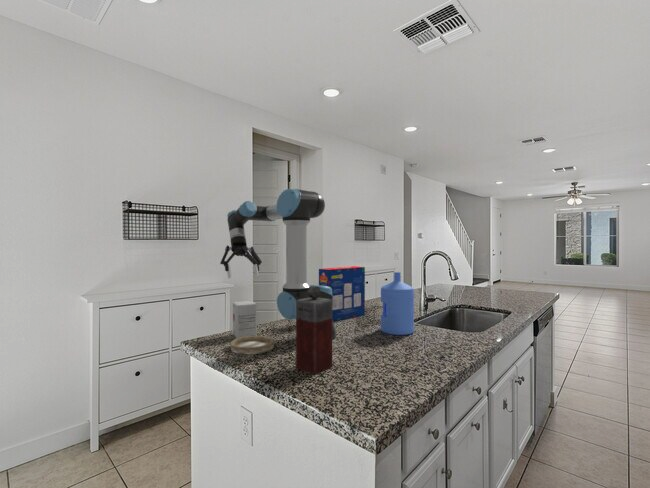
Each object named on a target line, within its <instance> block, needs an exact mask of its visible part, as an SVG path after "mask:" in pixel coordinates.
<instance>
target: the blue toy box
mask: <svg viewBox="0 0 650 488" xmlns="http://www.w3.org/2000/svg"><path fill="white" fill-rule="evenodd" d="M365 273H366V268H365V266H356V265H355V266H354V265H353V266H352V265H351V266H340V267H325V268H318V285H320V286H328V287H331V289H332V295H333V300H332V320H333V323H335V322H340V320H341V321H344V320H350V319H354V318H359V317H363V316H366V311H365V310H366V306H365V305H366V304H365V303H366V302H365V301H366V299H365V298H366V296H365V295H366V289H365V287H366V280H365V279H366V274H365Z"/></svg>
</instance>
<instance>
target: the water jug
mask: <svg viewBox="0 0 650 488" xmlns="http://www.w3.org/2000/svg"><path fill="white" fill-rule="evenodd" d="M401 277H402V276H401V272H399V271H396V272H395V271H394V272H393V281H391V282H388V283H387V284H385V285H383V286H381V288H380V302H382V314H381V315H380V331H382V332H383V333H385V334H388V335H393V336H406V335H411V334H413V333H414V331H415V326H414V325H415V319H414V317H415V306H414V305H415V304H414V303H415V300H414V299H415V289H414V287H413V286H411V285H409V284H407V283H405V282H403V281H401Z"/></svg>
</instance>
